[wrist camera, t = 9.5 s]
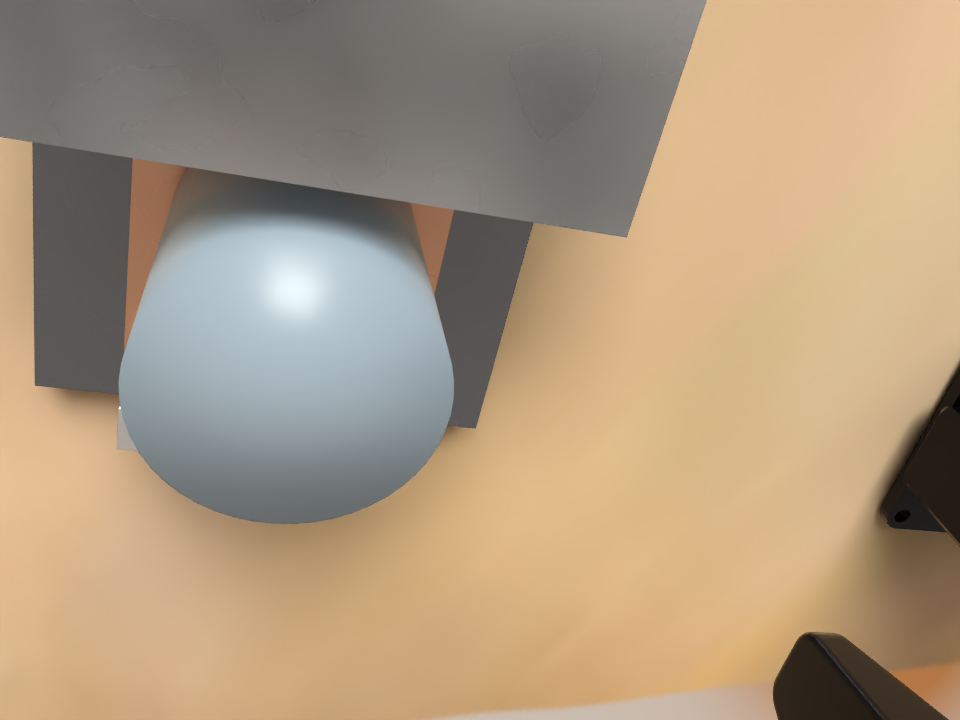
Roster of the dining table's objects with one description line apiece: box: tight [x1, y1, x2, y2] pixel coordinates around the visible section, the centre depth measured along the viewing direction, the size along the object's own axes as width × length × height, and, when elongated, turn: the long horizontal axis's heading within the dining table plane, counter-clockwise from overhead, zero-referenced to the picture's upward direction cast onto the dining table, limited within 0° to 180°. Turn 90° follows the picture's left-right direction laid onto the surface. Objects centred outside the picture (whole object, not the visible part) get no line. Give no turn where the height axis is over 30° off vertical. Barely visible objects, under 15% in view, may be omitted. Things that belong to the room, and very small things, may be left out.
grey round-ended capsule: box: [119, 167, 454, 524], centre depth 16 cm, size 5×5×6 cm
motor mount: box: [0, 0, 707, 451], centre depth 16 cm, size 10×13×7 cm
